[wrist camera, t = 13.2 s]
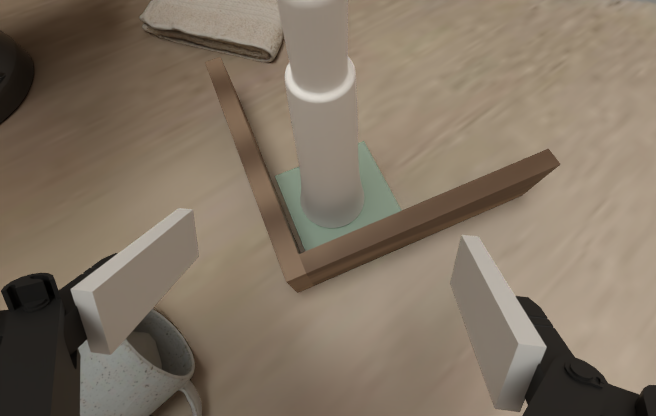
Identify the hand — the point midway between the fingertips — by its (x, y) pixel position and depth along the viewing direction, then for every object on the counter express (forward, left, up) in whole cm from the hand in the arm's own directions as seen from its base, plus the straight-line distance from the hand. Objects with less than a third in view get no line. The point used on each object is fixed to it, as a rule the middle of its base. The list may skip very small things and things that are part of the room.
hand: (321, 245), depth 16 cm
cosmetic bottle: (-7, +3, -13) cm, 16 cm away
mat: (-7, +4, -13) cm, 16 cm away
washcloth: (-36, +1, -14) cm, 39 cm away
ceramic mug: (+1, -16, -14) cm, 21 cm away
